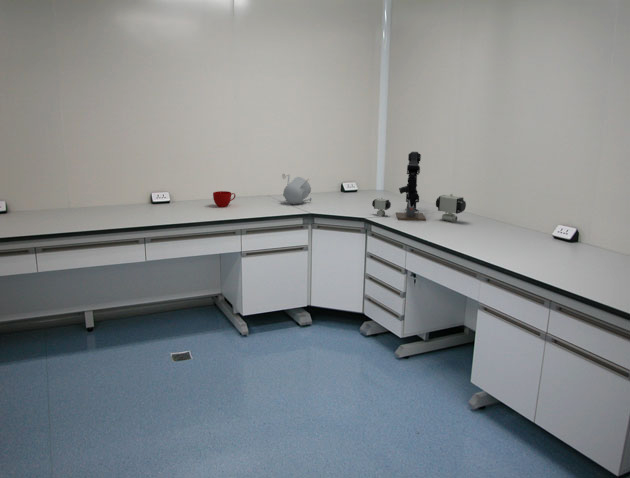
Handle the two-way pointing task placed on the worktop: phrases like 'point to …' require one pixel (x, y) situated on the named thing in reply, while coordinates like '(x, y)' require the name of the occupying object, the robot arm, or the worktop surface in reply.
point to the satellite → (296, 190)
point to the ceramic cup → (222, 198)
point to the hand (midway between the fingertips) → (411, 205)
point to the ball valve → (450, 206)
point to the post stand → (410, 215)
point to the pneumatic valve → (381, 206)
